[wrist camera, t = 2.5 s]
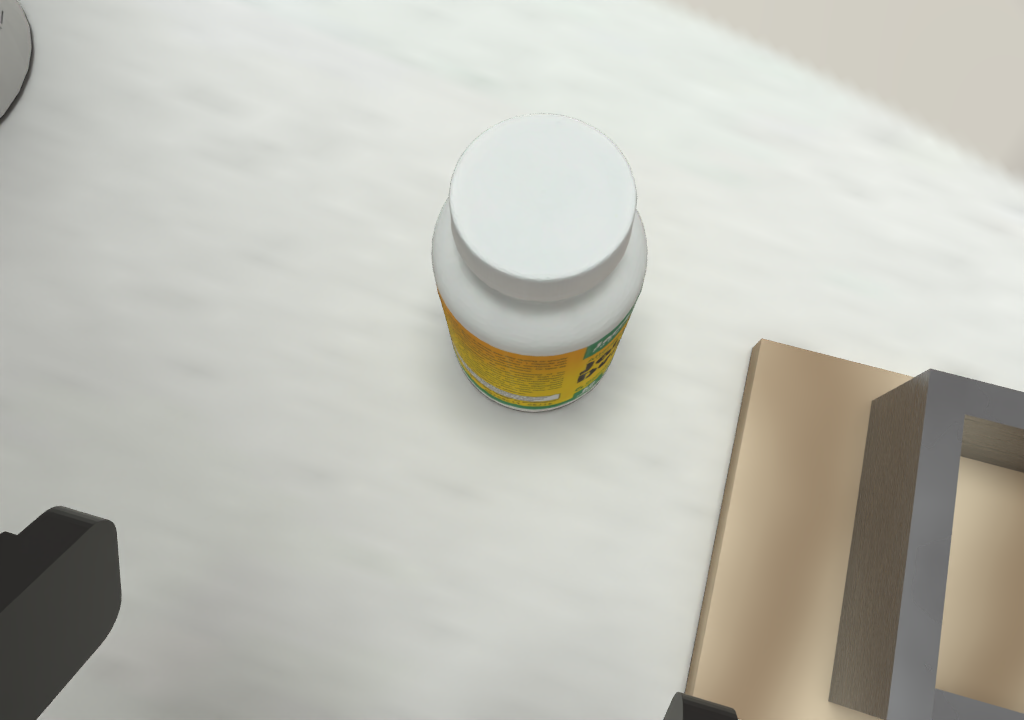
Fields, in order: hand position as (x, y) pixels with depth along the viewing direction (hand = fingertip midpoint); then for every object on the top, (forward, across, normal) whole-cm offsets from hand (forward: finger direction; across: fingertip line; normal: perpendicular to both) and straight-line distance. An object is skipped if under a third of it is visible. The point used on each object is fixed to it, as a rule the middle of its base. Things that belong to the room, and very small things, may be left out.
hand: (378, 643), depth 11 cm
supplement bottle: (+16, 0, +3) cm, 16 cm away
